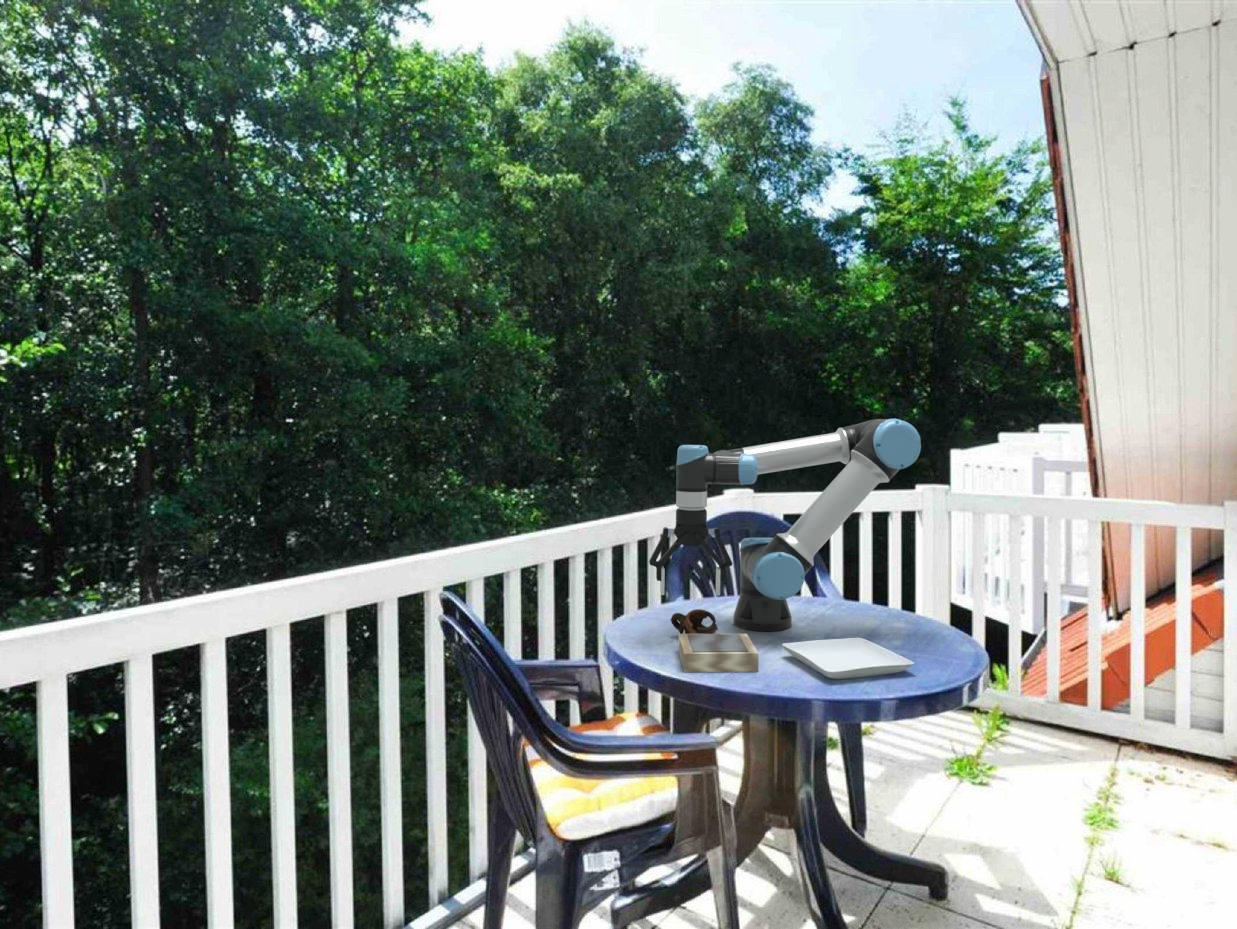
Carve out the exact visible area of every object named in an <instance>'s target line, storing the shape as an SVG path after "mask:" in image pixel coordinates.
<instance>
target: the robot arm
mask: <svg viewBox="0 0 1237 929" xmlns="http://www.w3.org/2000/svg"><path fill="white" fill-rule="evenodd" d="M921 440H922V439H921V436H920V434H919V432H918V430H917V429H916V428H915V427H914V425H912V424H911V423H909V422H907V421H906V420H901V419H900V418H899V419H898V418H888V419H887V418H886V419H883V418H875V419H870V420H867V421H863V422H860V423H857V424H851V425H849V426H843V427H838V428H837V430H836V431H835V432H830V433H826V434H825V433H824V434H819V435H811V436H806V437H800V438H799V437H798V438H794V439H788V440H783V441H777V442H770V443H764V444H756V445H752V446H745V447H740V448H733V449H728V450H725V449H721V450H717V451H716V452H713V453H711V452H709V448H708V446H707V445H701V444H682V445H679V447H678V448H677V452H676V453H677V455H676V464H675V466H676V474H675V475H676V483H675V484H676V488H675V489H676V492H675V494H676V498H675V500H676V502H675V506H676V507H677V509H675V526H674V528H669V527H668V526H664V527H663V528H662V535H661V537H660V540H659V541H658V543H657V545H656V547H655V549H654V550H653V553H652V554H651V556H650V558H649V561H648V562H649V565H650V566H651V567H652V566H653V567H655V570H656V575H655V576H656V581H657V582H660V595H661V596H665V585H666V584H665V578H666V576H665V574H666V573H665V568H666V567H664V565H665V564H666V563H667V562H668V560H669V559H670V558H671V557H672V556H673V554H675V552H676V551H678V549H679V548H680V547H681V546H684V547H685V548H687V547H694V548H695V547H699V546H700V545H701V546H702V547H703V548H704V549H705V551H706V552H707V553H708V555H710V557H712V558H711V559H713V561H714V562H716V564H717V566H716V567H715V595H716V596H721V582H725V580H726V579H725V578H726V577H725V576H726V568H728V567H732V566H733V564H734V563H733V561H732V559H731V557H730V555H729V553H728V551H727V548H726V547H725V545H724V542H723V541H722V539H721V534H720V533H721V532H720V529H719V527H716V526H715V527H714V528H708V527H707V526H708V524H707V523H708V522H707V520H708V517H707V516H708V511H707V509H706V508H707V507H708V485H741V486H744V485H753V484H755V483H756V481H757V480H758V479H757V478H758V476H759V475H762V474H769V473H776V472H782V471H787V470H794V469H801V468H806V467H812V466H813V467H814V466H819V465H825V464H831V463H836V462H840V463H842V464H844V465H845V467H844V468H843V469H842V470H841V471H840V472H838V474H837V475H836V477H835V478H834V479H833V480H832V481H831V482H830V483H829V485H827V486H826V487H825V489H824V490H823V491H822V493H820V495H819V496H817V498H816V499H815V500H814V501H813V503H812V504H811V505H810V506H809V507H808V508H807V509H806V510H805V511H804V512H803V513H802V515H801V516H800V517H799V518H798V519H797V520H796V521H795V522H794V524H792V526H791V527H790V528H789V530H787V532H783V533H776V535H775V536H774V537H745V538H743V539H742V540H741V541H740V547H739V552H740V558H739V559H740V561H739V562H740V567H739V568H740V569H739V570H740V575H739V576H740V577H739V578H740V581H739V582H740V594H739V598H738V600H737V603H736V607H735V610H734V612H733V624H734V625H735V626H736V627H738V628H741V629H745V630H751V631H758V632H774V631H776V632H777V631H782V630H783V631H784V630H786V629H789V628H790V627H792V626H793V625H792V624H793V623H792V622H793V619H792V617H793V616H792V614H791V611H790V607H789V604H788V601H787V600H788V599H789V598H792V597H794V596H796V594H797V593H799V591H800V590H801V589H802V587H803V585H804V582H805V576H806V575H807V573H808V572H809V571H810V570H811V569H812V568H813V567H814V564H815V563H814V557H815V555H816V553H818V552H819V550H820V549H822V547H824V545H825V544H826V543H827V541H828V540H829V539H830V538H831V537H832V536H833V535H834V534H835V533H836V532H837V531H838V529H839V528H840V527H841V526H842V525H843V524H844V523H845V522H846V521H847V519H848V518H849V517H850V516H851V515H852V514H853V512H855V511H856V509H857V508H858V507H859V506H860V505H861V503H863V502H864V501H865V499H866V498H867V497H868V496H869V494H870V493H871V492H873V490H874V489H875V488H876V487H877V486H878V485H879V484H881V483H883V484H884V483H889V482H890V481H891V480H892V479H893V477H894V476H895V475H896V474H897V473H898V472H899V471H900V470H903V469H906V468H908V467H909V466H911V465H913V464H914V463H915V462H916V461H917V460H918V458H919V456H920V455H921V454H920V453H921V449H922V445H921V444H922V443H921ZM672 534H674V536H675V537H676V540H675V541H674V542H673V543H672V545H671V546H670V547H669V548H668V549H667V550H666V552H665V553H664V554H663V555H662V556H661V557H660V559H659V560H658V561H657V559H658V558H659V556H660V554H661V553H662V550H663V549H664V546H665V544H666V542H667V541H668V538H670V537H671V536H672ZM708 535H710V536H711V537H712V538H714V540H715V542H716V544H717V546H718V549H719V550H720V552H721V555H722V556H723V559H724V561H722V560H721V558H720V556H718V555H717V554H716V552H715V551H714V550H713V548H712V547H711V546H710V545H709V544H708V543H707V542H706V541H705V539H706V538H707V537H708Z"/></svg>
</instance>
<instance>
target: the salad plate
mask: <svg viewBox="0 0 1237 929" xmlns="http://www.w3.org/2000/svg"><path fill="white" fill-rule="evenodd" d="M781 646H782V647H783V649H784V650H785V651H786V652H787V653H788V655H790V656H792V657H794V658H795V659H797V660H799V662H802V663H804V665H807V666H808V667H810V668H812V669H813V670H815V671H816V672H818V673H821V674H822V675H823V676H825V677H827V678H829V679H832V680H833V679H834V680H844V679H855V678H856V679H857V678H865V677H875V676H884V675H889V674H896V673H901V672H904V671H907V670H909V669H911V668H912V667H913V666H914V665H915V661H912V660H910V659H908V658H906V657H904V656H902V655H900V654H898V653H895V652H893V651H891V650H889V649H887V648H885V647H883V646H881V645H879V644H877V643H874V642H873V641H869V640H867V639H865V638H861V637H849V638H847V637H846V638H832V639H819V640H806V641H797V642H784V643H782V644H781Z"/></svg>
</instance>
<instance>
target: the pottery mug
mask: <svg viewBox="0 0 1237 929" xmlns="http://www.w3.org/2000/svg"><path fill="white" fill-rule="evenodd" d="M707 617H708V618H709V619H710V620H711V621H712V623H711V624H710V625H709V626H706V625H704V624H702V623H703V620H704V619H705V620H706V619H707ZM670 622H671V624H672V626H673V628H675V629H676V630H677V631H678V632H679V633H678V634H716V632H717V631H719V628H718V625H717V620H716V617H715V615H714V614H712V612H709V611H708V610H705V609H700V608H699V609H692V610H690V611H689V612H687V614H686V615H685V614H683V613H681V612H676V613H673V614H672V616H671V618H670Z"/></svg>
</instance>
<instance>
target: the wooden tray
mask: <svg viewBox="0 0 1237 929" xmlns="http://www.w3.org/2000/svg"><path fill="white" fill-rule="evenodd" d="M677 643H678V646H677V647H678V654H679V658H680V661H681V666H682V669H683V672H684V673H717V672H718V673H731V672H732V673H733V672H734V673H735V672H736V673H737V672H738V673H748V672H749V673H750V672H755V673H758V672H759V662H760V661H759V656H760V655H759V652H758V650H757V648H756V646H755V645H754V644H753V643H754V642H752V640H751V639H750V637H749V635H748V634H747V633H714V634H690V633H689V634H685V633H682V634H680V633H678V642H677Z"/></svg>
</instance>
